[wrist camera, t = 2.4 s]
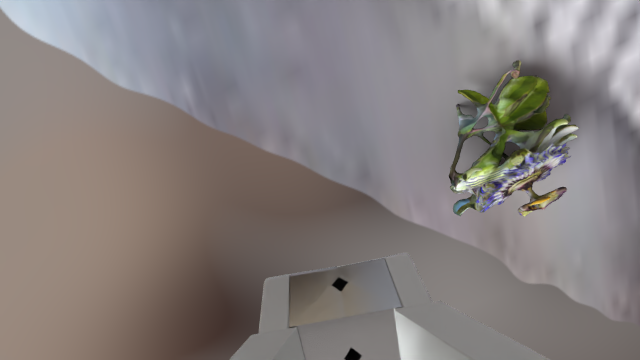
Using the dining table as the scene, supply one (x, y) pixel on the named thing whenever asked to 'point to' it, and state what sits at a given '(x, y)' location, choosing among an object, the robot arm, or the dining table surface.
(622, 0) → the dining table surface
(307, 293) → the robot arm
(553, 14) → the dining table surface
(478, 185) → the passion flower
